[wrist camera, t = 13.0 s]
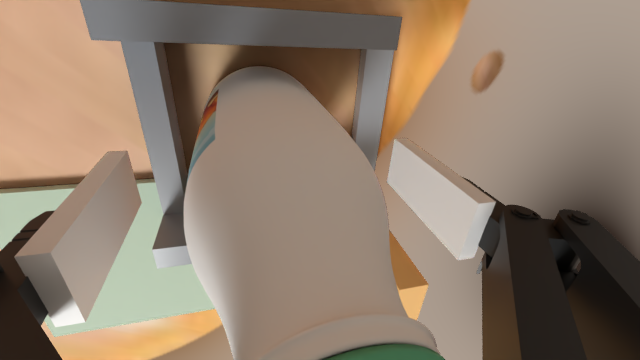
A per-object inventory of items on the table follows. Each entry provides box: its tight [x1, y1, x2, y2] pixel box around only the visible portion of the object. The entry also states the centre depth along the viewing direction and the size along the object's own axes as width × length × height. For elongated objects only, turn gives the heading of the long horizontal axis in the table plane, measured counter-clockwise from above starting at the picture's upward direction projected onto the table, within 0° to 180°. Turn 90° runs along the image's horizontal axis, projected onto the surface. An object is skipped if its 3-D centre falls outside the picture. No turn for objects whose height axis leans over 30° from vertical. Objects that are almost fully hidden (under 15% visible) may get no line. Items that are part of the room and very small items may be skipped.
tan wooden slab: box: [389, 230, 428, 320], centre depth 24 cm, size 11×3×10 cm, turn 177°
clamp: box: [80, 0, 402, 269], centre depth 22 cm, size 25×16×6 cm, turn 177°
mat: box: [0, 179, 215, 337], centre depth 24 cm, size 14×14×1 cm
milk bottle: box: [184, 66, 445, 360], centre depth 13 cm, size 8×8×20 cm
